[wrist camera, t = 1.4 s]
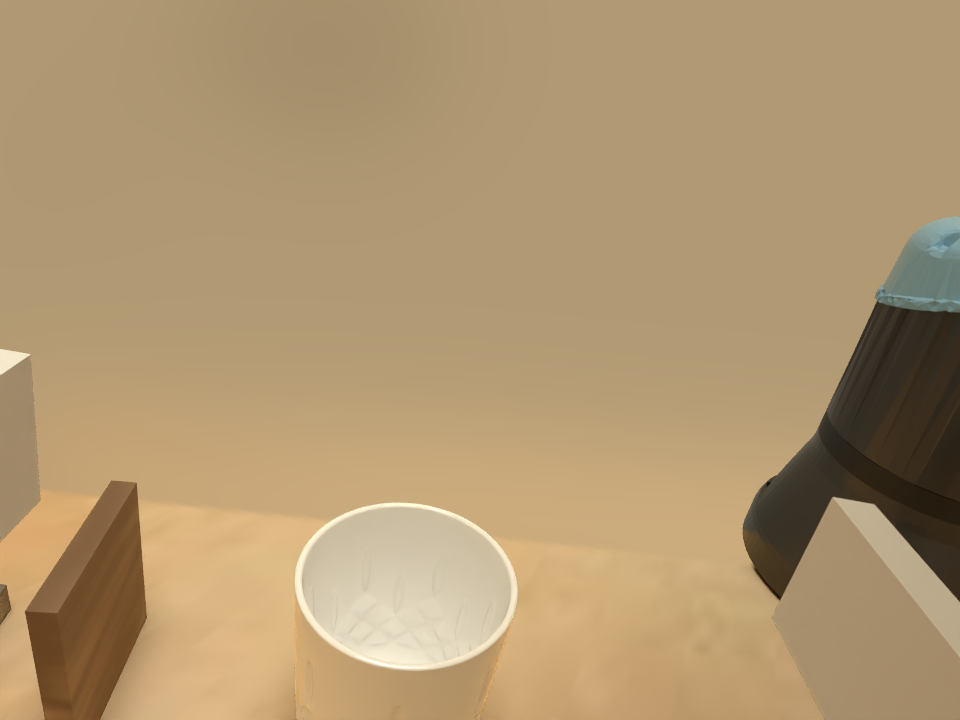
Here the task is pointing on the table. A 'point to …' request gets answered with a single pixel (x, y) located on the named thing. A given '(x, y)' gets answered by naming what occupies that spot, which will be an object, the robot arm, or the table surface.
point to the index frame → (4, 602)
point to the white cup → (399, 616)
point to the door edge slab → (90, 610)
